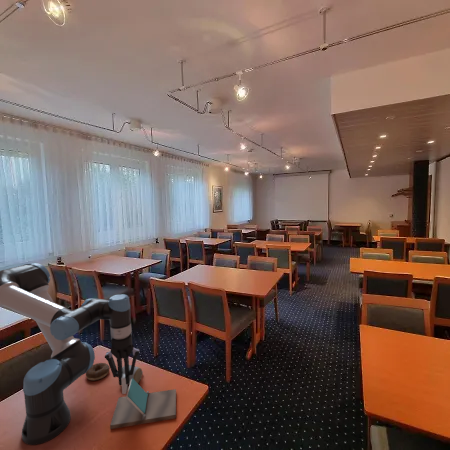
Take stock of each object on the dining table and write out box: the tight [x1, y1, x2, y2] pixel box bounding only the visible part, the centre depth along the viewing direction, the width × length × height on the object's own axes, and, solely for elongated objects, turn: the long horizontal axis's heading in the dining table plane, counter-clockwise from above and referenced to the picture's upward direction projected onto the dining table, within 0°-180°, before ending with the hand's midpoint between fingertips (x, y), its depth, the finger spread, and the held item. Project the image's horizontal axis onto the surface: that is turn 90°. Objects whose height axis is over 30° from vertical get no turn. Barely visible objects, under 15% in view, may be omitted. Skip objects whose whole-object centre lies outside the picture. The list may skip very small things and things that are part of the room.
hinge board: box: [109, 388, 177, 430], centre depth 105 cm, size 24×14×2 cm, turn 100°
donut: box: [85, 362, 111, 381], centre depth 127 cm, size 11×11×4 cm
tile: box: [126, 378, 148, 415], centre depth 104 cm, size 10×10×1 cm
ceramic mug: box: [122, 364, 144, 385], centre depth 123 cm, size 11×8×8 cm
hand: (124, 391), depth 103 cm, fingers closed
